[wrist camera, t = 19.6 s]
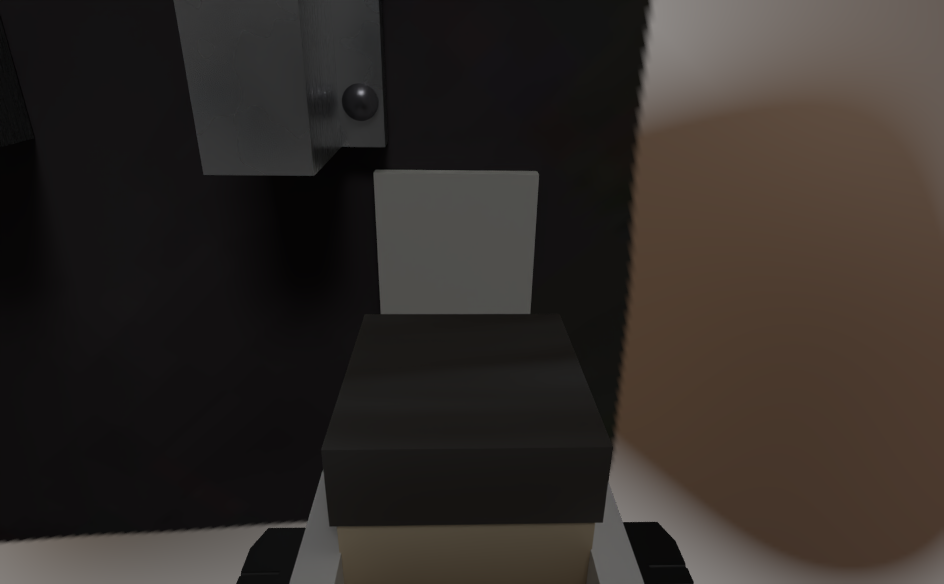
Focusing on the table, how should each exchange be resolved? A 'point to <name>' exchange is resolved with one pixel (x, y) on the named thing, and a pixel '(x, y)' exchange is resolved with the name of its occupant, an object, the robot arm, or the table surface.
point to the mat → (455, 240)
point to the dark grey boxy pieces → (265, 83)
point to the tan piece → (465, 453)
